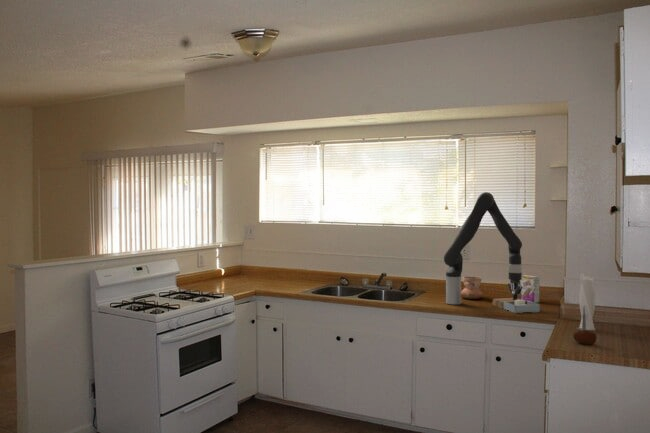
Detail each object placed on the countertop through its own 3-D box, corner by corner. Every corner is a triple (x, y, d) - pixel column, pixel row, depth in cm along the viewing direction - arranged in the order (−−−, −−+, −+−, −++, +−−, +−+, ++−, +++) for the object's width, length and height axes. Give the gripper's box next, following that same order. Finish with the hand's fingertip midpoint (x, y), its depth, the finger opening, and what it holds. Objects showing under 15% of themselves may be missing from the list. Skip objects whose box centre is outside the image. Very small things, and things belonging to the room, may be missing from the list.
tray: (503, 309, 335) (503, 301, 335) (527, 307, 338) (528, 300, 338) (515, 313, 322) (515, 305, 322) (540, 312, 325) (540, 304, 325)
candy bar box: (520, 300, 363) (520, 275, 363) (525, 299, 365) (525, 274, 365) (534, 303, 353) (534, 277, 353) (539, 302, 356) (539, 276, 355)
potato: (592, 347, 247) (592, 332, 247) (570, 343, 253) (570, 329, 253) (598, 344, 252) (598, 330, 251) (577, 340, 258) (577, 326, 258)
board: (492, 305, 348) (492, 298, 348) (516, 304, 351) (516, 297, 351) (503, 309, 335) (503, 302, 335) (527, 307, 338) (527, 301, 338)
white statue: (574, 327, 286) (574, 273, 285) (589, 327, 286) (589, 272, 286) (583, 331, 277) (583, 275, 277) (598, 331, 278) (599, 274, 277)
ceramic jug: (476, 301, 361) (477, 279, 361) (455, 298, 371) (456, 277, 370) (487, 298, 375) (488, 276, 375) (467, 295, 385) (468, 274, 384)
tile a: (514, 299, 333) (517, 300, 330) (522, 299, 334) (525, 300, 331) (514, 308, 334) (517, 309, 331) (522, 307, 335) (524, 308, 332)
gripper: (503, 270, 342) (503, 298, 343) (515, 273, 330) (515, 302, 330) (515, 270, 344) (514, 298, 344) (526, 272, 331) (526, 302, 331)
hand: (515, 300), depth 337 cm, fingers closed
